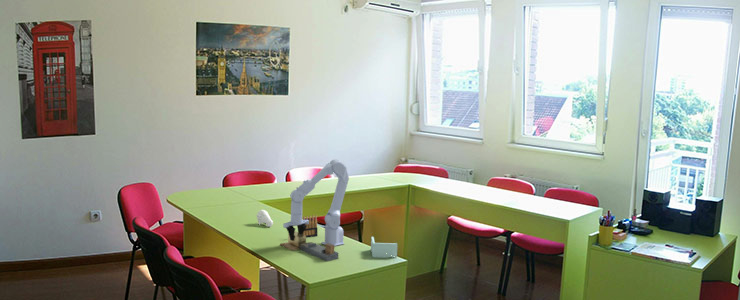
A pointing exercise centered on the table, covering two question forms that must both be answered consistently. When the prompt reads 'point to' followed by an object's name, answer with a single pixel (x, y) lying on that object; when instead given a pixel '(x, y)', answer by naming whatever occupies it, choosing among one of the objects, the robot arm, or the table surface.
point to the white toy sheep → (264, 218)
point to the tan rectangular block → (297, 239)
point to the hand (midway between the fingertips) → (295, 239)
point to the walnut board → (289, 246)
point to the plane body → (320, 251)
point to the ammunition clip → (310, 227)
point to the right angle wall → (383, 249)
